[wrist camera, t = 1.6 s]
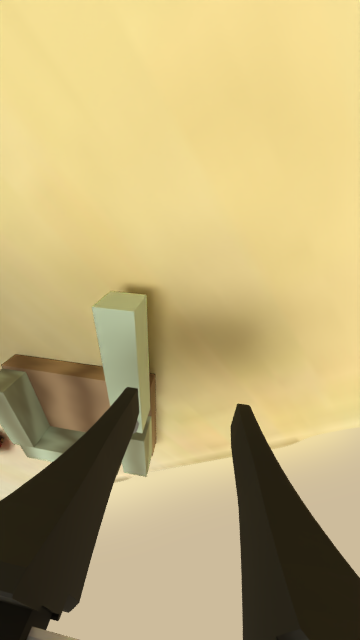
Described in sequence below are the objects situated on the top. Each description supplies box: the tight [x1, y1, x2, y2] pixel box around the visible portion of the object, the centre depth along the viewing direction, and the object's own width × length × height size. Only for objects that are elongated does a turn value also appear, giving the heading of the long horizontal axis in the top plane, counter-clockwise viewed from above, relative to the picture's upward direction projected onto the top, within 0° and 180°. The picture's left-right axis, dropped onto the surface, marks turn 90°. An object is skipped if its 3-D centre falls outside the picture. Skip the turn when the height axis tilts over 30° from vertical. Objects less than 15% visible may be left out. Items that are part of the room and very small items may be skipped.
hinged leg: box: [92, 291, 150, 434], centre depth 18 cm, size 14×3×4 cm, turn 177°
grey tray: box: [0, 354, 156, 477], centre depth 26 cm, size 18×14×5 cm
